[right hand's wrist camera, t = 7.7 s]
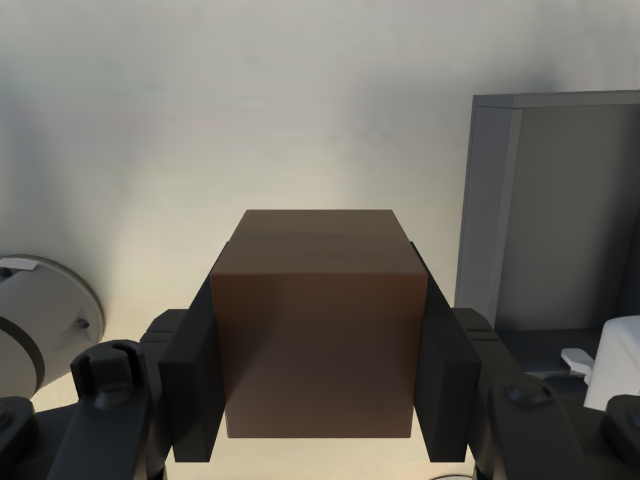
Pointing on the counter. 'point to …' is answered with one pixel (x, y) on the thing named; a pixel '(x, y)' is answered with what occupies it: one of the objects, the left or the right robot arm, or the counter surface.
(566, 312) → the bin
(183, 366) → the right robot arm
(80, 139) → the counter surface
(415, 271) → the walnut cube
